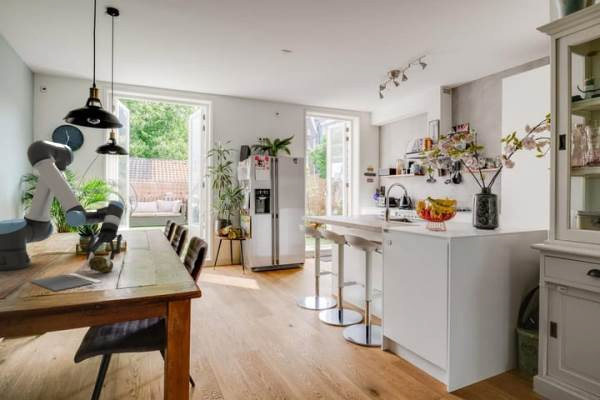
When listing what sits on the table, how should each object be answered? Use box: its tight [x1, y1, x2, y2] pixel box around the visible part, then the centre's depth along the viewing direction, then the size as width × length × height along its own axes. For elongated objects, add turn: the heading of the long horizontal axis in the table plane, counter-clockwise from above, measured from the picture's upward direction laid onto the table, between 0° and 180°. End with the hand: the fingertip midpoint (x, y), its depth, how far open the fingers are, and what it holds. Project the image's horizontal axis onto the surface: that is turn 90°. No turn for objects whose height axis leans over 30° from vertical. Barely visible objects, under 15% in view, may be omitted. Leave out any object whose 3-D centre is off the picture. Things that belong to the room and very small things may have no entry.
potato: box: [89, 256, 114, 273], centre depth 161 cm, size 8×13×8 cm, turn 157°
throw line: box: [68, 272, 103, 284], centre depth 151 cm, size 24×2×1 cm, turn 57°
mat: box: [29, 274, 93, 292], centre depth 143 cm, size 24×13×1 cm, turn 57°
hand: (98, 265), depth 158 cm, fingers closed on potato, 7 cm apart
